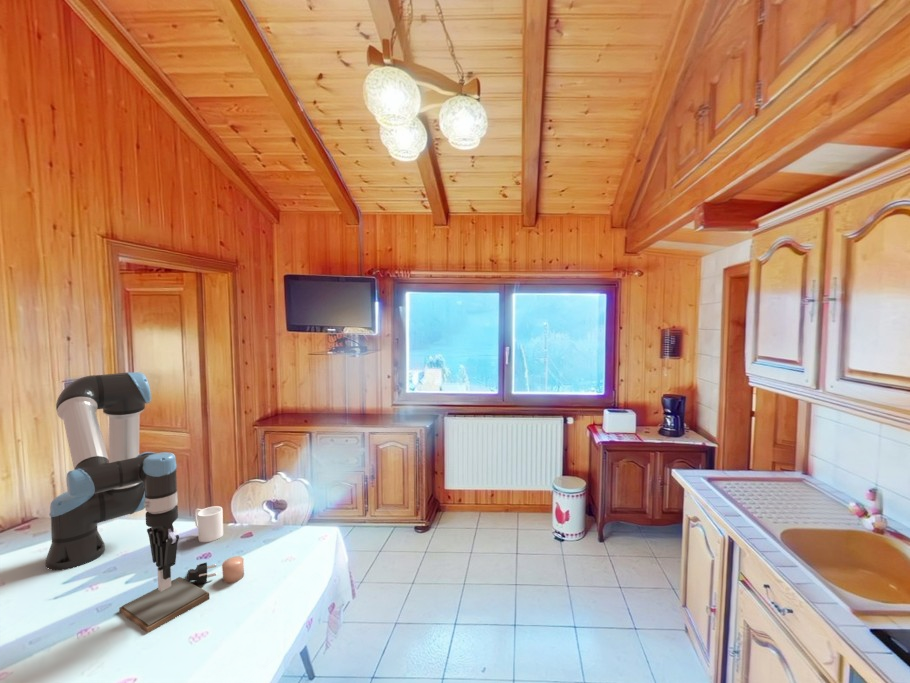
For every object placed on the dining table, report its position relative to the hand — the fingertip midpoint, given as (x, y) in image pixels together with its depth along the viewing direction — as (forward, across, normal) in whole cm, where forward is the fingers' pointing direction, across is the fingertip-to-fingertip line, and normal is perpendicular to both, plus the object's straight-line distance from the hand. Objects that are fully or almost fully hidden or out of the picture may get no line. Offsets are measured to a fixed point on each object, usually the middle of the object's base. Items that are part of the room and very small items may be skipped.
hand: (164, 587), depth 118 cm
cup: (+6, -30, +29) cm, 42 cm away
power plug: (+5, -10, +15) cm, 19 cm away
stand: (+6, 0, 0) cm, 6 cm away
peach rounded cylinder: (+6, +4, +18) cm, 19 cm away
